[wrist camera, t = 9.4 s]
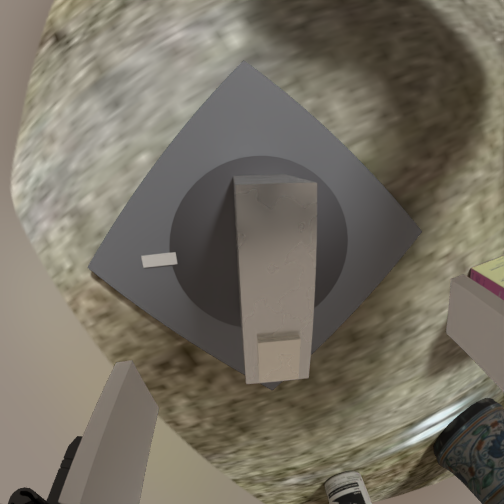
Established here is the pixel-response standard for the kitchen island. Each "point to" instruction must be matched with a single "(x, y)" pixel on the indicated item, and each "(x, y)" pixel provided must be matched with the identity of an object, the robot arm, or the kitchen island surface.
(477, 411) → the beer stein
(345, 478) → the spray can
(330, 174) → the dial plate
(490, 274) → the box
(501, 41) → the kitchen island surface
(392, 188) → the kitchen island surface
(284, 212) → the dial handle
